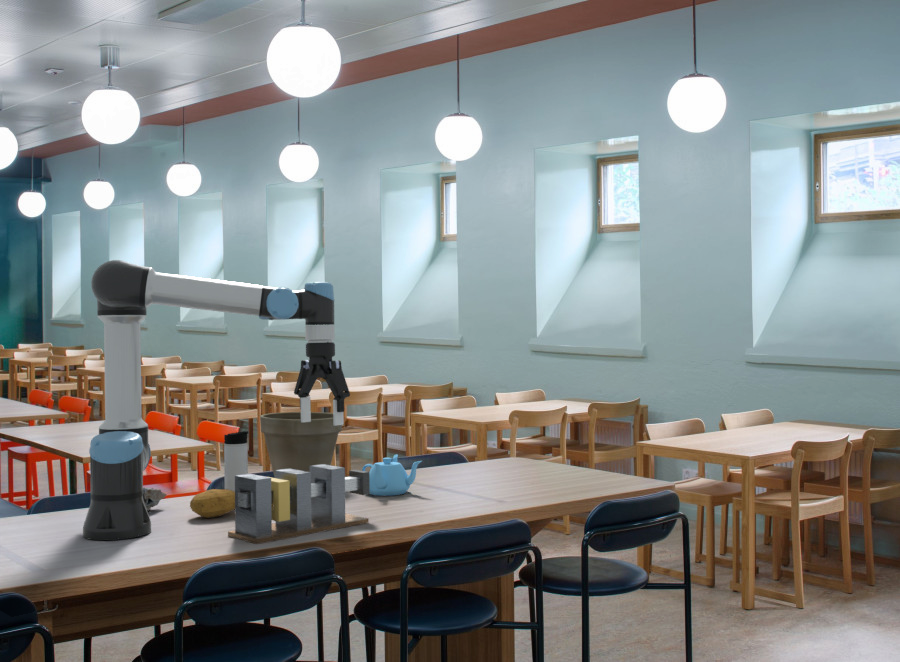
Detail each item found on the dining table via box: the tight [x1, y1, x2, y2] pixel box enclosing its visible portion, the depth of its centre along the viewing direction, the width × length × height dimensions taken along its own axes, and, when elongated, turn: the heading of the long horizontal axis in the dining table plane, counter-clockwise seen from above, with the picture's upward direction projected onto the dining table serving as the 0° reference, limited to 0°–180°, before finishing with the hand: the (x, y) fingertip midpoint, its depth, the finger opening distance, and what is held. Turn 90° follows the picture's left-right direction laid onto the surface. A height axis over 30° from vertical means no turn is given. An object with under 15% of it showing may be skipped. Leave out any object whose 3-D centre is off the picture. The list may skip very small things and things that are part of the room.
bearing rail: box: [227, 464, 369, 545], centre depth 227 cm, size 32×12×14 cm, turn 134°
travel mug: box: [223, 430, 249, 492], centre depth 261 cm, size 6×7×20 cm
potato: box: [189, 488, 235, 519], centre depth 244 cm, size 9×13×7 cm
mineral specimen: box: [143, 487, 167, 511], centre depth 252 cm, size 10×8×10 cm
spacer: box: [269, 476, 290, 522], centre depth 222 cm, size 3×9×9 cm, turn 44°
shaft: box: [238, 469, 371, 508], centre depth 228 cm, size 35×6×6 cm, turn 134°
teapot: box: [361, 453, 423, 497], centre depth 276 cm, size 15×15×10 cm
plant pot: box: [259, 411, 343, 478], centre depth 290 cm, size 25×25×22 cm
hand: (321, 423), depth 247 cm, fingers open, 13 cm apart
